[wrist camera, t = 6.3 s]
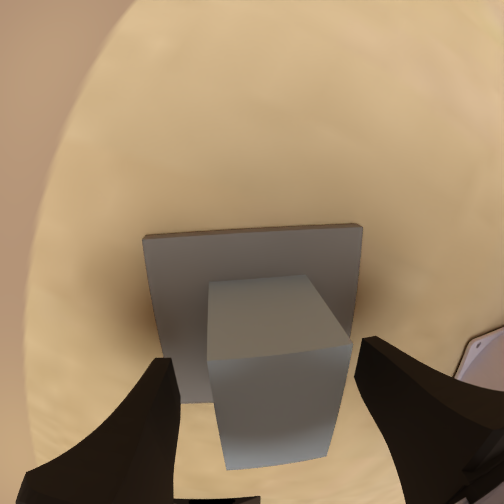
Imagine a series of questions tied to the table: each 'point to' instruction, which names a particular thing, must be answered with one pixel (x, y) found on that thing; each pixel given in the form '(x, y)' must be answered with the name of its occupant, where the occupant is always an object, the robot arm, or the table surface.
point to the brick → (274, 370)
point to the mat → (238, 268)
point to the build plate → (220, 501)
